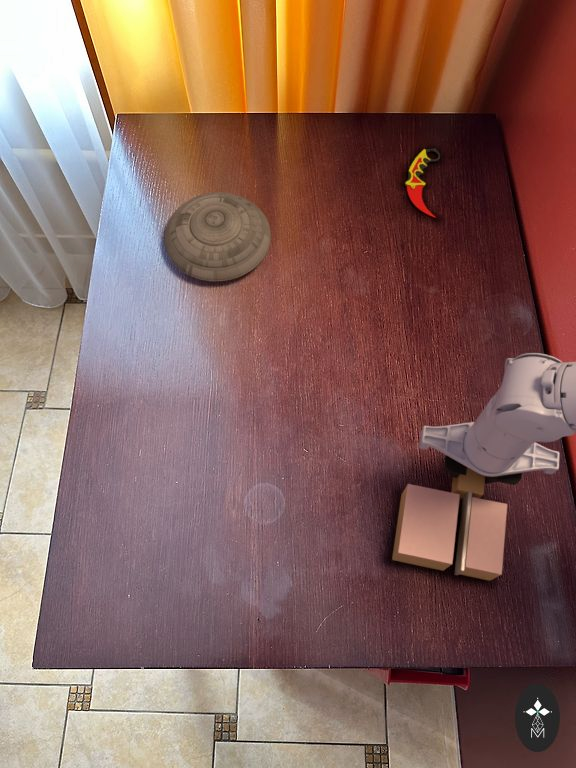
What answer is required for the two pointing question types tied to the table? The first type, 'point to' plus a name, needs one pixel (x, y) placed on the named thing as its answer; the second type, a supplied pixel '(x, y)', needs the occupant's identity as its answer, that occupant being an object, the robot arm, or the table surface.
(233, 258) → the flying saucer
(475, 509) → the light tan rectangular block
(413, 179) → the knife
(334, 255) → the table surface
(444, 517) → the pink rectangular block
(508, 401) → the robot arm
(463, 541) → the chisel
